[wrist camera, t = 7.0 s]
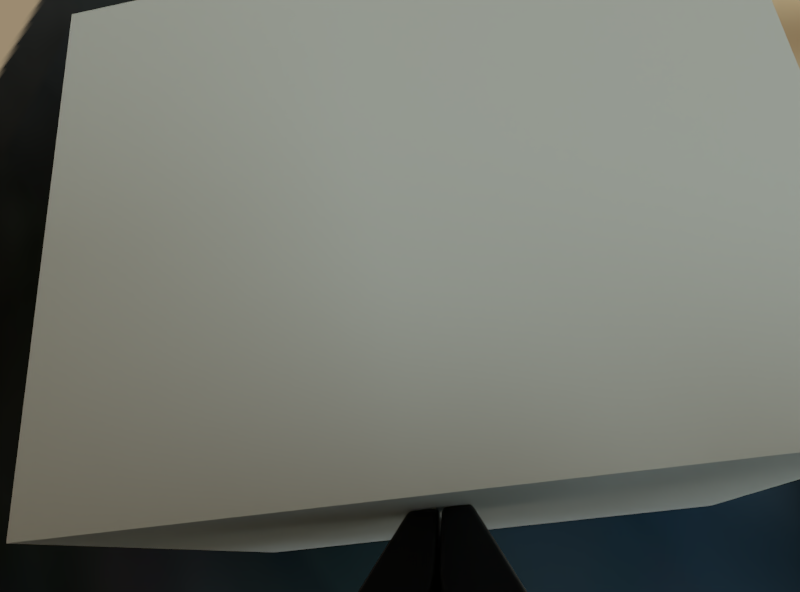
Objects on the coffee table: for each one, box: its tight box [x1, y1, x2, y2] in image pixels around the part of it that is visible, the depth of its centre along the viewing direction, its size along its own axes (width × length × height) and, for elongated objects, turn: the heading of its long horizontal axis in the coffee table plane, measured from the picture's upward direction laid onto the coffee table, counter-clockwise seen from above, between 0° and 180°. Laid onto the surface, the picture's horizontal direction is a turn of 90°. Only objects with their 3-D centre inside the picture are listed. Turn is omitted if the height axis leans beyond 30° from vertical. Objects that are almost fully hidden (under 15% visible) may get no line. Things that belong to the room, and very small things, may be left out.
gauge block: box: [6, 0, 800, 552], centre depth 13 cm, size 8×10×9 cm
